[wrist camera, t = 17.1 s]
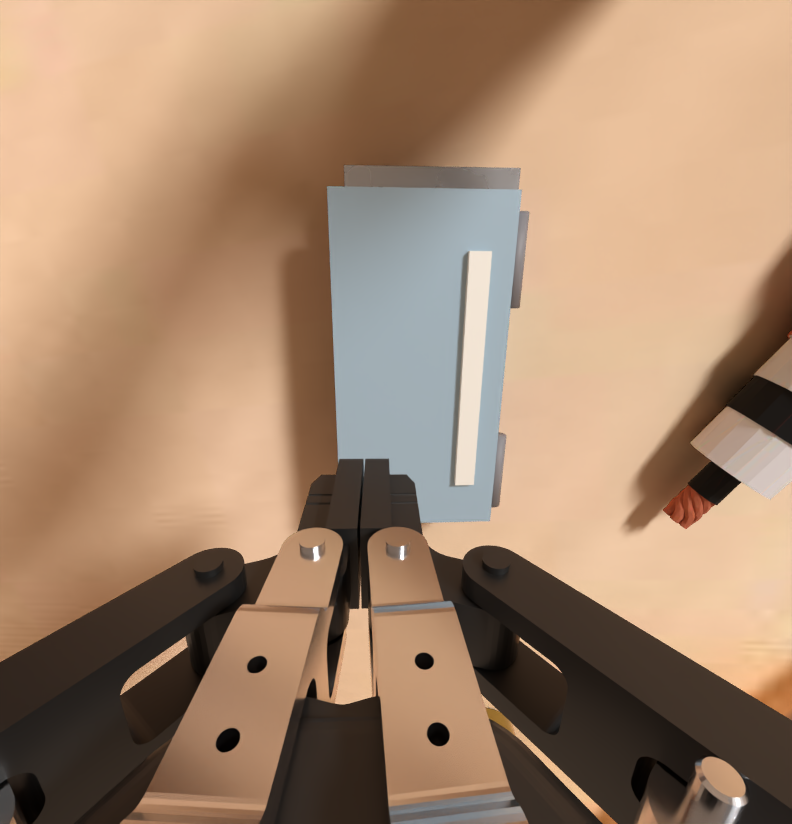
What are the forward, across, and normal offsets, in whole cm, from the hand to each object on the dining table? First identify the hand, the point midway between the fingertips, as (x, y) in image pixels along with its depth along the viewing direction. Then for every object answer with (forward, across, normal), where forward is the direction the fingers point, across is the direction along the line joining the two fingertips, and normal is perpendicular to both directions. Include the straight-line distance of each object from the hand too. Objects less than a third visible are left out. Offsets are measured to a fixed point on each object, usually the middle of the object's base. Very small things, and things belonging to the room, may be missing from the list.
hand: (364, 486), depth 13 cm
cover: (+14, -3, 0) cm, 14 cm away
